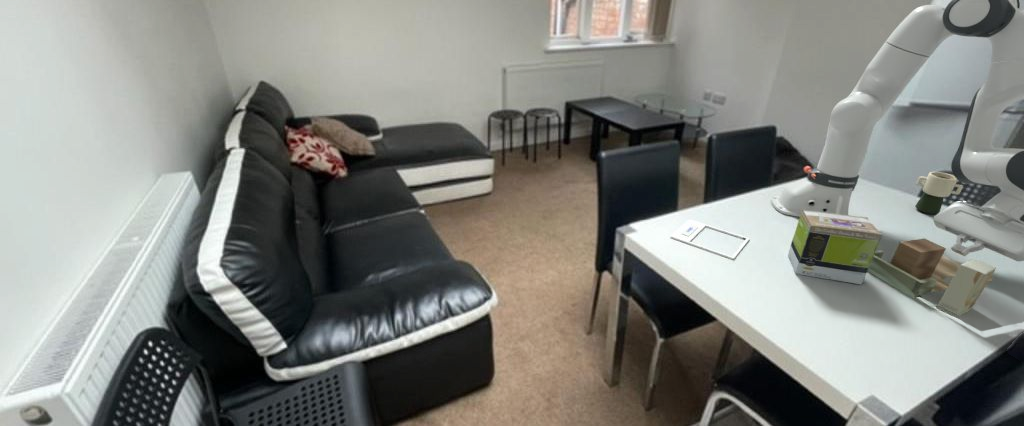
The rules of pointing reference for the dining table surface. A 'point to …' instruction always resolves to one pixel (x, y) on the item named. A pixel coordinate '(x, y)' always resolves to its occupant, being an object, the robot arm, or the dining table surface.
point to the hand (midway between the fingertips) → (957, 252)
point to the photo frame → (694, 228)
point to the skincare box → (966, 287)
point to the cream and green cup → (936, 191)
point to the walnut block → (918, 257)
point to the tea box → (833, 246)
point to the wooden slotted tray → (909, 282)
